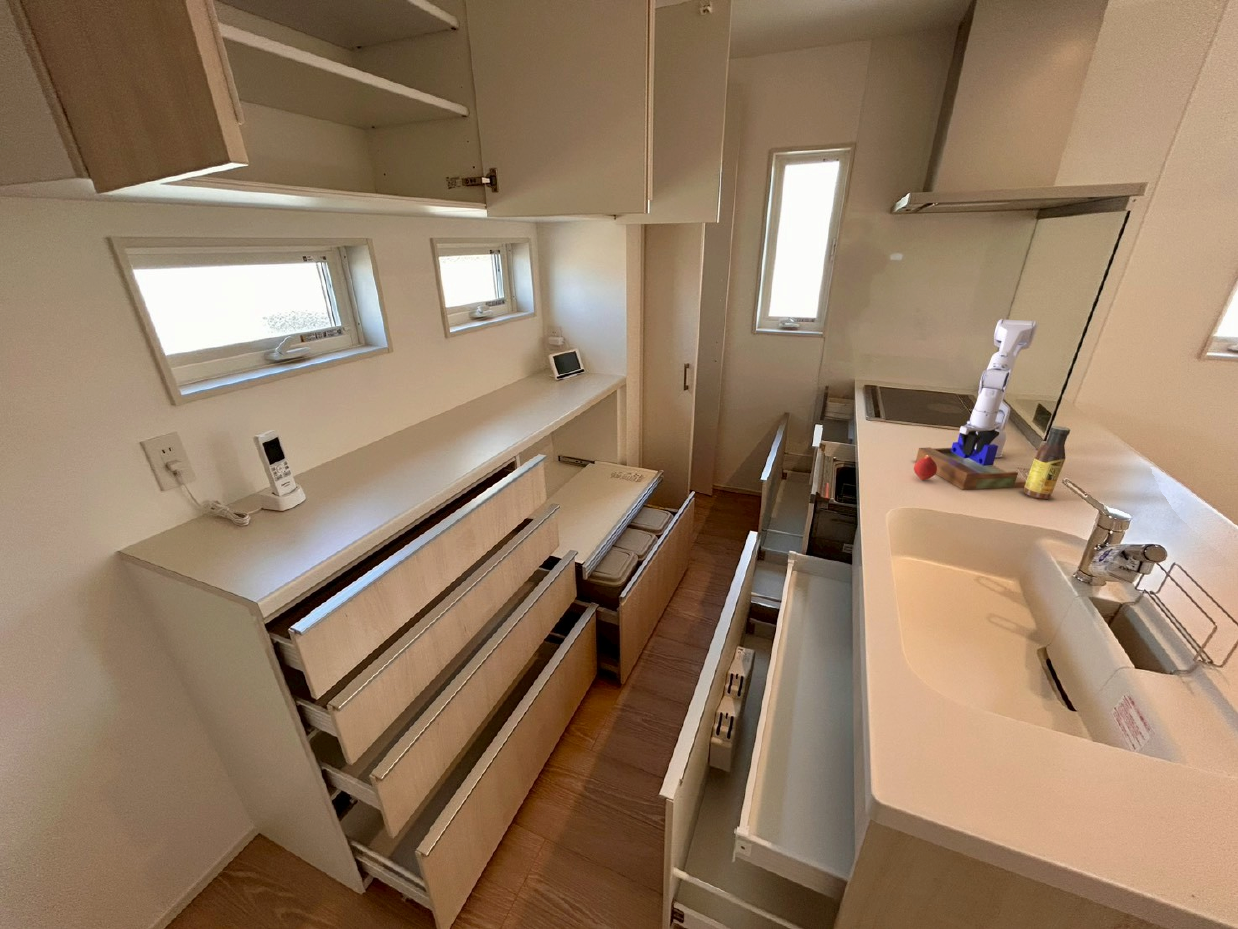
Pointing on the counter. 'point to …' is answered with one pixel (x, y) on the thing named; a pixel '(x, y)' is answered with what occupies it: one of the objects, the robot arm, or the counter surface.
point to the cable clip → (976, 453)
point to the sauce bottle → (1047, 464)
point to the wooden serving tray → (969, 471)
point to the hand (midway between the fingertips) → (973, 453)
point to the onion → (925, 468)
